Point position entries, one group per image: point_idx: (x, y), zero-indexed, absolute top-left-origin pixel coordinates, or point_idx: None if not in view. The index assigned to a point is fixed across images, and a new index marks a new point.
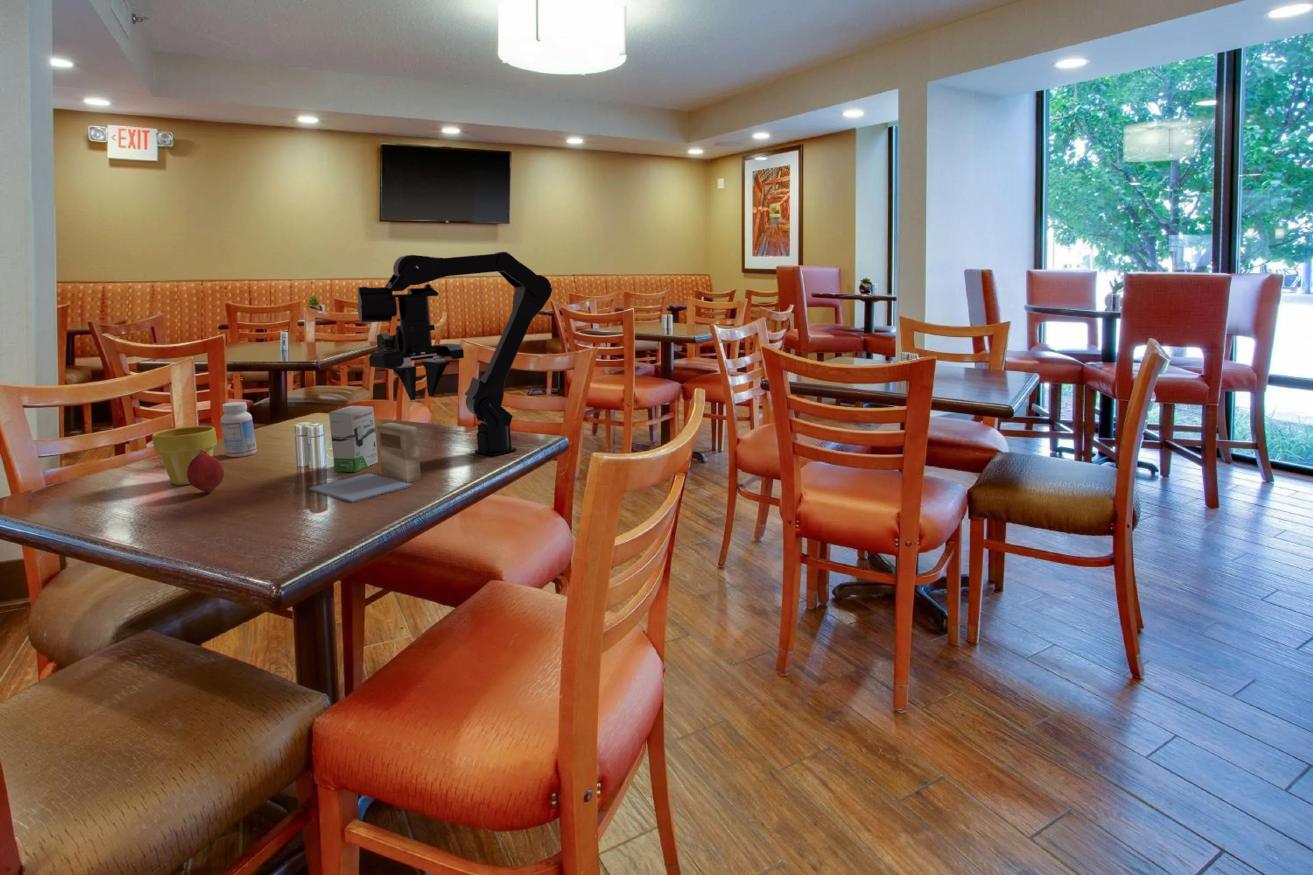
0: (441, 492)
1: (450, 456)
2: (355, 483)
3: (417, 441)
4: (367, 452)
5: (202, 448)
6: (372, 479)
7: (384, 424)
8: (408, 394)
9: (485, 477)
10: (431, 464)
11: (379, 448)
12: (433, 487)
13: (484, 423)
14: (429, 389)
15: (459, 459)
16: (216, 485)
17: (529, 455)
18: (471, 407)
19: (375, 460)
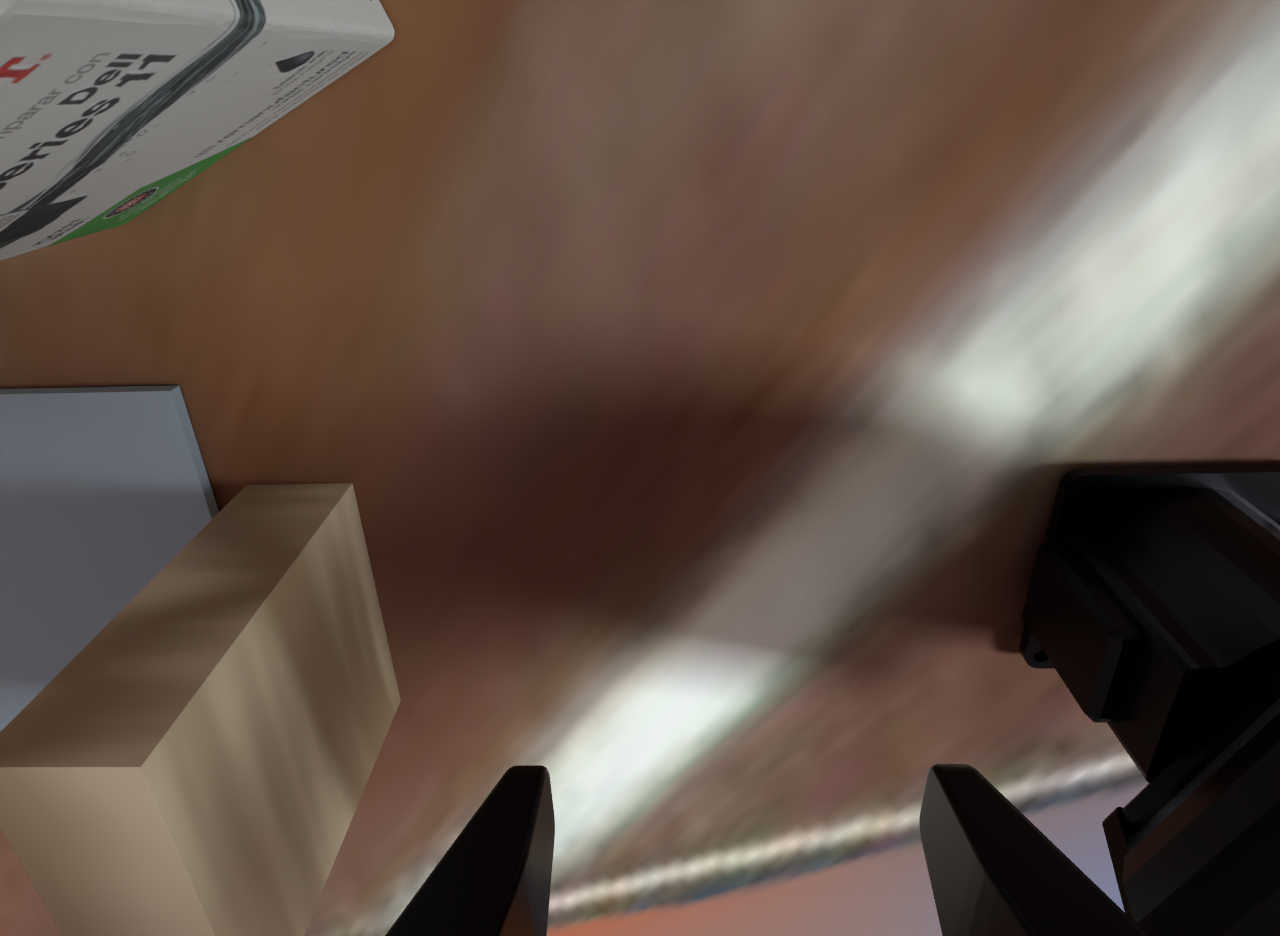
0: (359, 909)
1: (892, 402)
2: (27, 544)
3: (311, 914)
4: (201, 142)
5: None
6: (145, 548)
7: (50, 785)
8: (459, 856)
9: (643, 888)
10: (644, 484)
11: (126, 606)
12: (371, 841)
13: (1202, 744)
14: (973, 924)
15: (853, 527)
16: None
17: (1140, 774)
18: (1197, 886)
19: (352, 63)
